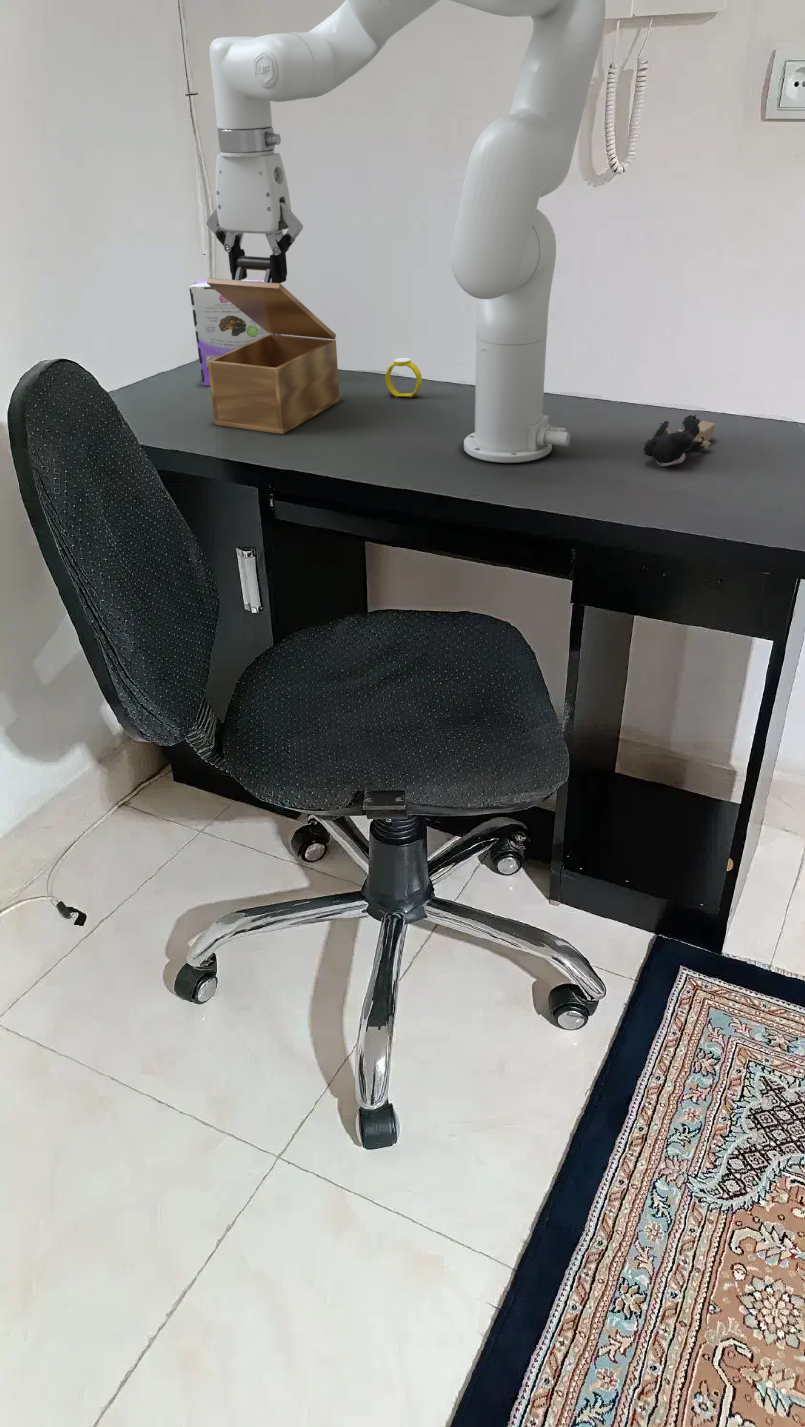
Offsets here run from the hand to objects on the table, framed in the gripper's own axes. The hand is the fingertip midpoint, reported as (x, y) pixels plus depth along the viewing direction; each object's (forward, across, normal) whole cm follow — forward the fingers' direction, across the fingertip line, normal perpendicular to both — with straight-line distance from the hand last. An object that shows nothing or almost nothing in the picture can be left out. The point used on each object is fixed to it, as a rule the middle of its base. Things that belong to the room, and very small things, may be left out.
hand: (259, 280), depth 154 cm
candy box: (+20, +15, -15) cm, 30 cm away
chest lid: (+5, 0, -3) cm, 6 cm away
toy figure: (+21, -63, -6) cm, 67 cm away
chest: (+20, 0, -2) cm, 20 cm away
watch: (+20, -15, -17) cm, 31 cm away
